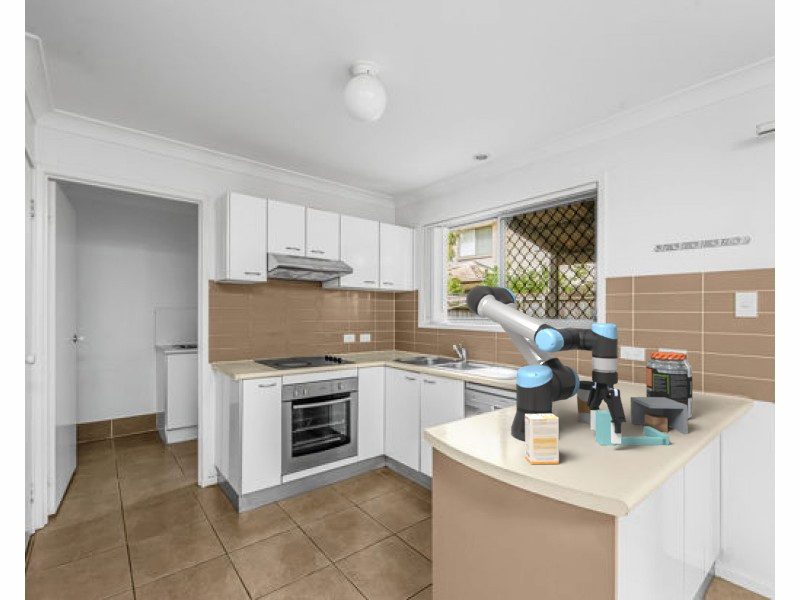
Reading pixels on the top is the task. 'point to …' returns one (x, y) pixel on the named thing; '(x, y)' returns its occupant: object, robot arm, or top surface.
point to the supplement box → (542, 438)
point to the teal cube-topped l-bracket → (605, 435)
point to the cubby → (660, 411)
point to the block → (656, 422)
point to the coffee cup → (584, 401)
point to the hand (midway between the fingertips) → (605, 436)
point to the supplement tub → (670, 378)
